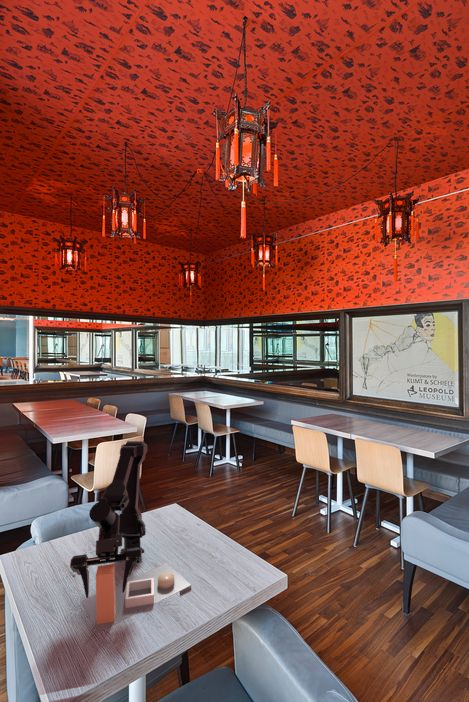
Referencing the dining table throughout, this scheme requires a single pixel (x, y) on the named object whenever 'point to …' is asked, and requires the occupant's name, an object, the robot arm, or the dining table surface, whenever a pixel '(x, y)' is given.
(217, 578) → the dining table surface
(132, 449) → the robot arm
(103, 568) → the orange square prism
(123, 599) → the board
